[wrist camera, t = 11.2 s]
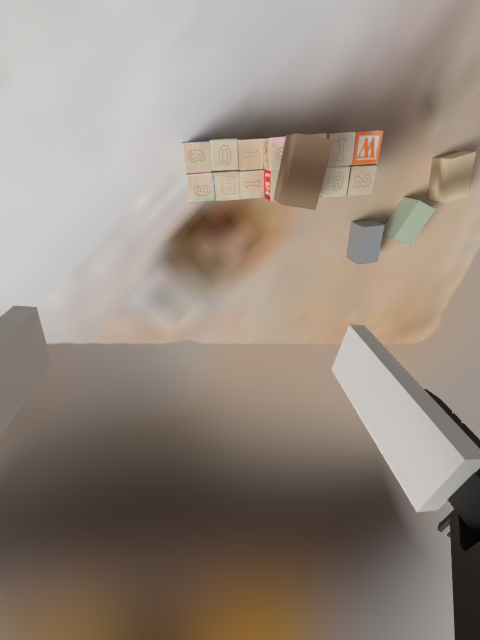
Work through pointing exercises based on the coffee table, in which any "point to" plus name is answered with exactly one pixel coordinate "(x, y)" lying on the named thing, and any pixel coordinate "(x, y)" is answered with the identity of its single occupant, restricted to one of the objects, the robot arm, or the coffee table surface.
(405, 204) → the sage brick
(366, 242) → the grey brick
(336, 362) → the robot arm
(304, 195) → the walnut brick
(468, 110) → the coffee table surface
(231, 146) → the stack of blocks
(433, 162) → the maple brick
